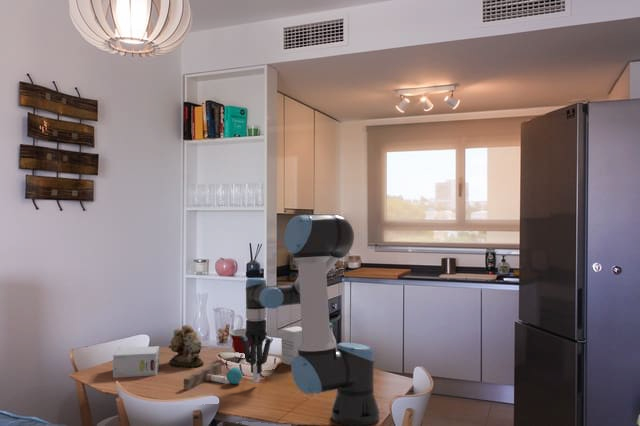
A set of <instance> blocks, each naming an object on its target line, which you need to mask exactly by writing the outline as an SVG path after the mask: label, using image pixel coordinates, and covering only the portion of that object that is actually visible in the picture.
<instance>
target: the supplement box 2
mask: <svg viewBox="0 0 640 426" xmlns="http://www.w3.org/2000/svg"><path fill="white" fill-rule="evenodd" d="M280 334H281V336H280V337H281V363H282V364H285V365H289V366H291V363H292V360H293V358H294V357H296V356H297V355H298V348H299V346H300V345H301V344H302V342H303V341H302V326H298V325H297V326H290V327H285V328H281V333H280Z"/></svg>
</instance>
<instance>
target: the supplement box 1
mask: <svg viewBox="0 0 640 426" xmlns="http://www.w3.org/2000/svg"><path fill="white" fill-rule="evenodd" d="M112 361H113V362H112V378H114V379H115V378H129V377H132V378H133V377H146V376H157V375H158V371H159V369H160V346H159V345H157V346H134V347H133V346H132V347H131V346H130V347H117V349H116V351H115V352H114V354H113V360H112Z"/></svg>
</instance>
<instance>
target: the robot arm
mask: <svg viewBox="0 0 640 426" xmlns="http://www.w3.org/2000/svg"><path fill="white" fill-rule="evenodd" d="M288 221H289V222H288V223H287V225H286V228H285V231H284V246H285V247H286V251H287V252H288V253H290V254H292V259H293V261H294V262H295V263H297V265H298V266H297V267H298V277H297V278H296V280H295V281H294V282H293V283H292V284H281V285H279V284H277V285H267V279H265V278H264V277H249V278H247V279H246V283H245V310H246V311H245V318H246V321H245V329H246V330H247V331H246V333H245V335H244V336H242V337H240V340H241V342H242V345H243V349H244V354H245V358H244V359H245V362H246V363H249V364H250V373H251V374H252V383H254V384H257V383H259V382H260V379H261V378H260V377H261V375H260V374H262V372H263V370H262V369H263V365H264V364H265V363H267V361H268V356H269V352H270V347H271V344H272V342H273V341H274V339H273V338H272V337H270V336H268V333H267V320H266V318H267V309H272V310H273V309H277V308H280V307H285V306H294V305H299V306H300V321H301V327H302V341H303V342H302V344H301V345H300V346H299V348H298V355H297V356H296V357H294V358H293V360H292V363H291V365H290V369H291V374H292V380H293V381H294V384H295V385H296V387H297V388H298V389H299V390H300V392H301V393H303V394H306V395H313V394H317V395H320V394H321V393H324V392H329V391H333V390H336V395H335V398H334V401H333V405H332V407H331V419H332V421H334V422H335V423H338V424H340V425H344V426H369V425H373V424H375V423H377V422H378V421H379V420H380V408H379V406H378V402H377V400H376V396H375V393H374V391H375V390H374V386H375V385H374V383H375V382H374V379H375V378H374V364H375V363H374V362H375V360H374V351H373V349H372V347H370V346H368V345H366V344H362V343H361V344H360V343H354V342H339V343H336V345H337V347H336V346H335V345H334V344H333V343H332V342H331V341H330V326H329V323H330V311H329V297H328V296H329V295H328V294H329V293H328V278H327V275H328V273H329V272H330V271H331V269H332V268H333V267H334V265H336V263H337V262H338V261H339V260H340V259H343V258H344V257H346V256H347V255H348V253H349V252H350V251H351V249H352V247H353V245H354V241H355V233H354V229H353V227H352V225H351V223H350V222H349V221H348V220H347V219H346V218H345V217H343V216H341V215H337V214H329V215H328V214H302V215H295V216H293V217H292V218H291V219H290V220H288ZM248 340H249V342H250V349H249V344H248ZM263 343H264V345H263ZM336 348H337V350H336Z"/></svg>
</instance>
